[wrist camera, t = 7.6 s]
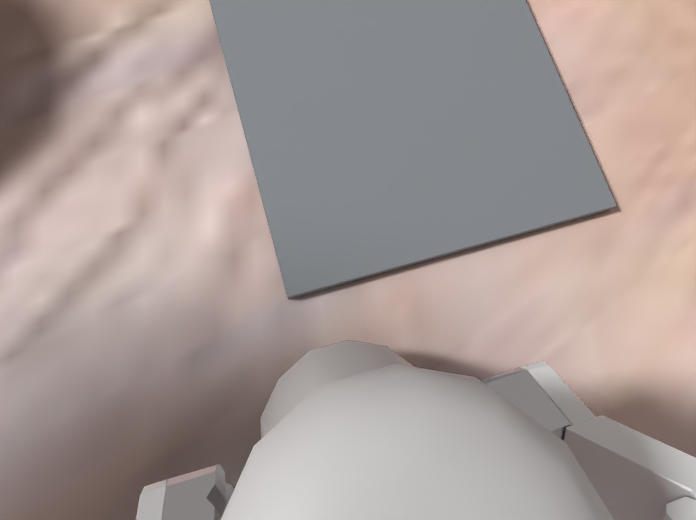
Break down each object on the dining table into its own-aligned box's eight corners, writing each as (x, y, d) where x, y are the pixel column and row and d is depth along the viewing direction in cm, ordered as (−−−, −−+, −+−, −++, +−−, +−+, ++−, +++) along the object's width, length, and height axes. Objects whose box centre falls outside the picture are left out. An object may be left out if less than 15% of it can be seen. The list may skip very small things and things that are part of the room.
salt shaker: (236, 443, 16) (-97, 747, 3) (330, 314, 17) (348, 175, 5) (369, 546, 15) (579, 1374, 3) (456, 405, 17) (873, 533, 4)
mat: (609, 209, 19) (616, 205, 18) (288, 298, 17) (287, 297, 17) (454, -144, 23) (457, -155, 22) (184, -98, 21) (180, -109, 21)
